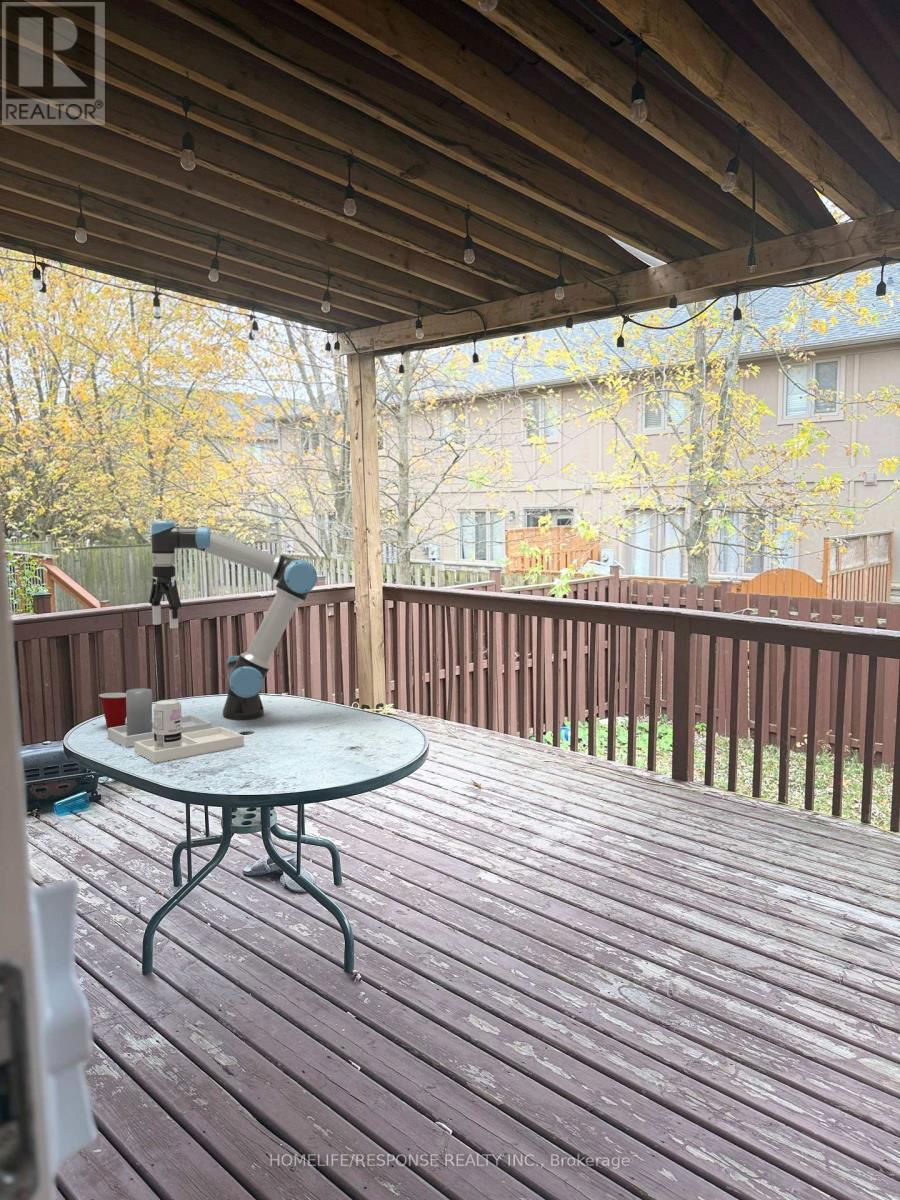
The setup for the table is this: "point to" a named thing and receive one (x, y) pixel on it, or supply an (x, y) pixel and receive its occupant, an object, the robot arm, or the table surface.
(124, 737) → the tray
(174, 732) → the supplement can
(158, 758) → the tray
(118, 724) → the plastic cup
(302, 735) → the table surface
